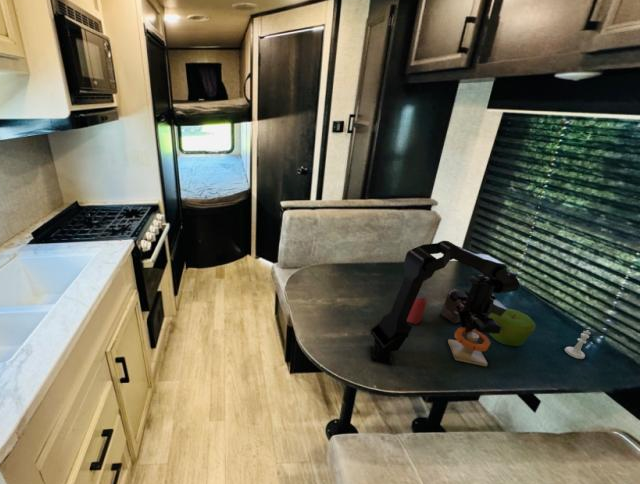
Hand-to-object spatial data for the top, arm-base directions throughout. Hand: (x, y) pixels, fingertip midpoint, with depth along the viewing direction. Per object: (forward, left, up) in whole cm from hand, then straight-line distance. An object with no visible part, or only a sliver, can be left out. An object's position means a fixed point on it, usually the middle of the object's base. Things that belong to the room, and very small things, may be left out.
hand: (465, 330), depth 107 cm
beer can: (+10, +14, -7) cm, 19 cm away
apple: (+8, -16, -7) cm, 19 cm away
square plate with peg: (-4, -1, -7) cm, 8 cm away
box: (+15, -1, -7) cm, 17 cm away
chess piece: (+7, -36, -7) cm, 37 cm away
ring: (-4, -1, -1) cm, 4 cm away
